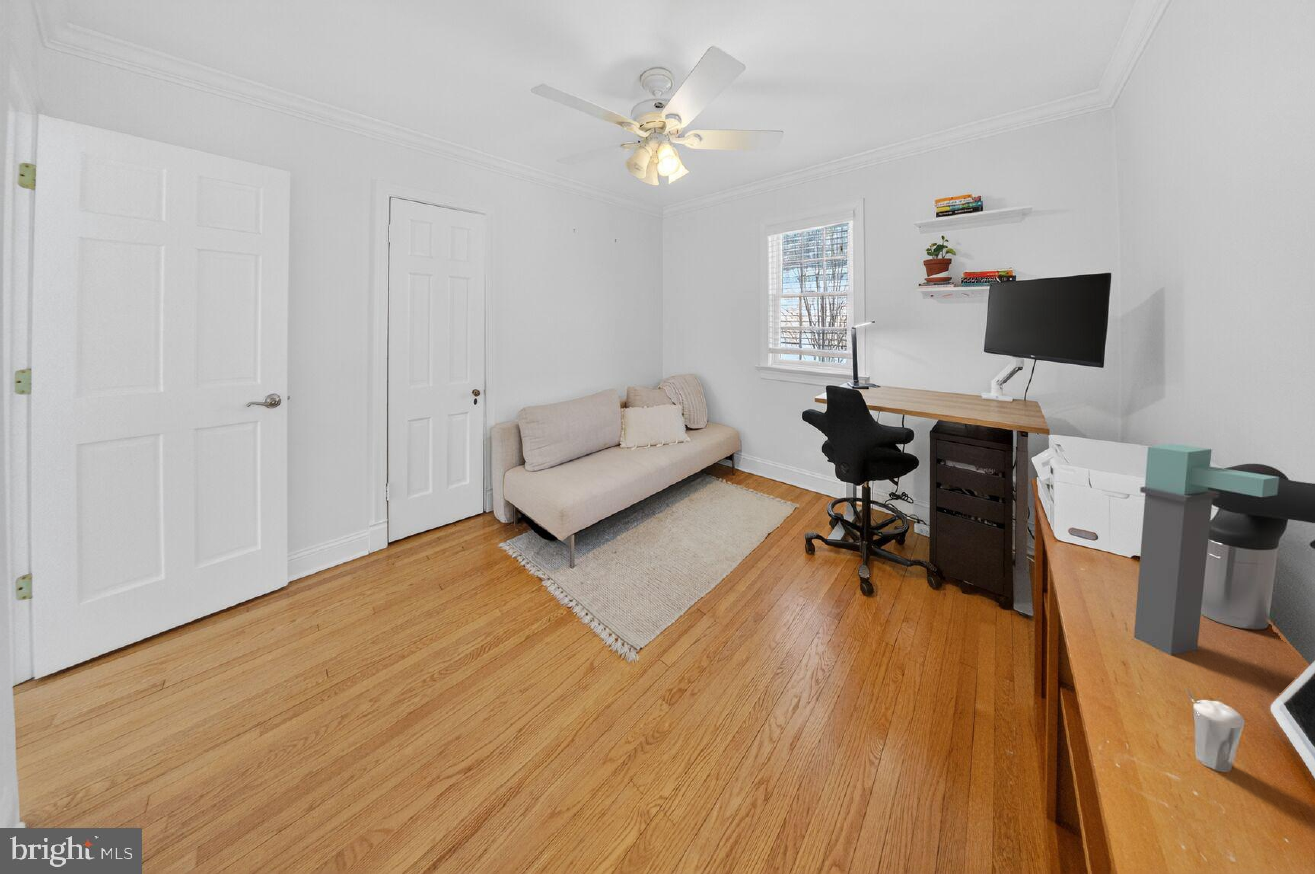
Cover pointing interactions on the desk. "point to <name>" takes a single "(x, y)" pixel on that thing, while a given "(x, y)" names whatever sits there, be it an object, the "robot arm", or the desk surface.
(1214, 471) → the teal handle
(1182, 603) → the stand
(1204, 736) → the milkshake
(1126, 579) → the desk surface
